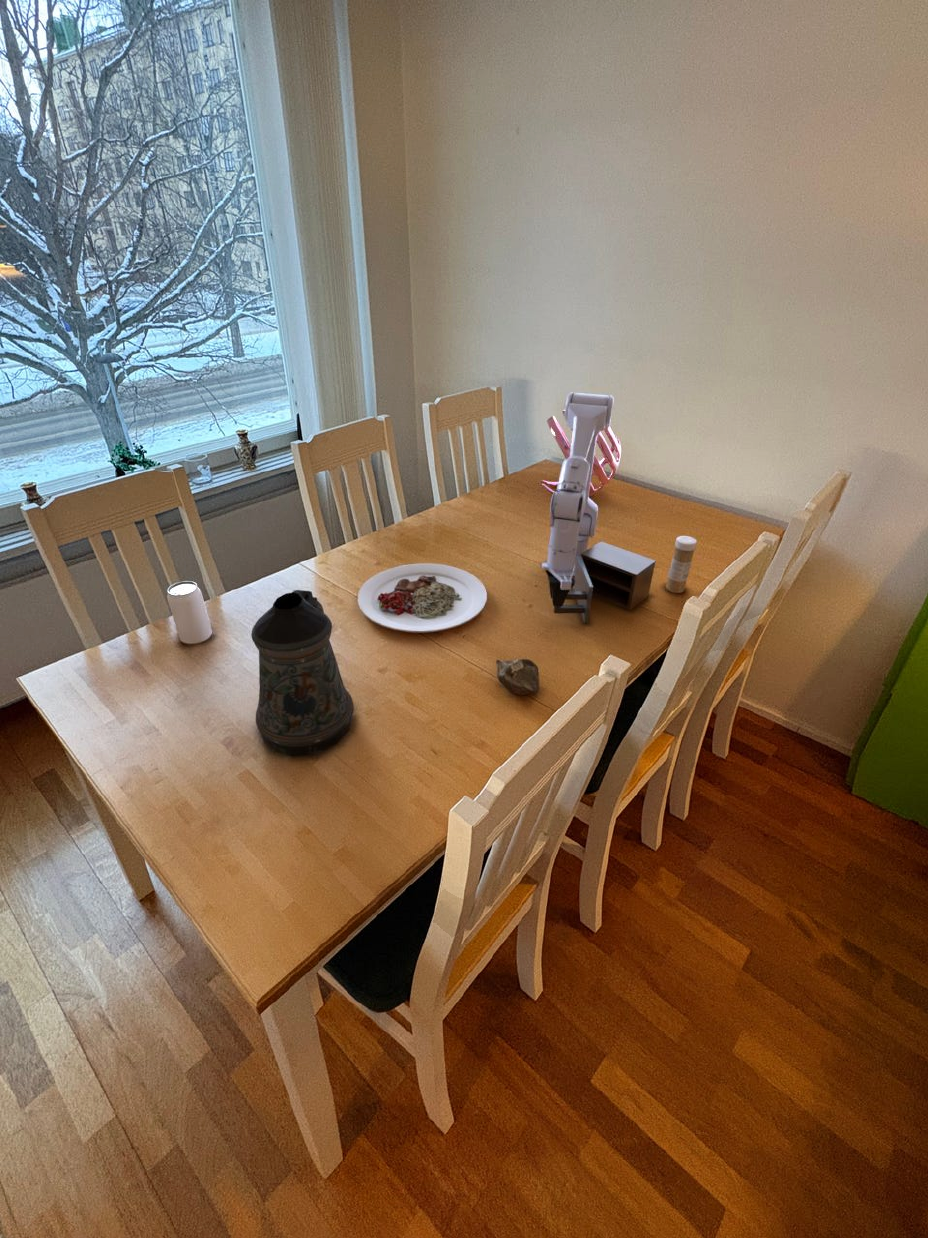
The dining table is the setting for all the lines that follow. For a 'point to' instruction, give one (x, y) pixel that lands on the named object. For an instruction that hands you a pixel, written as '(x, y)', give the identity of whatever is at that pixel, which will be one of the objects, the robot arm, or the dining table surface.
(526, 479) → the dining table surface
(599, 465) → the spiral basket
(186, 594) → the can
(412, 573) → the plated food
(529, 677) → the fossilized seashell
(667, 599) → the dining table surface
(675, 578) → the sprinkles bottle
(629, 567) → the cupboard
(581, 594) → the cupboard door
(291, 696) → the beer stein
